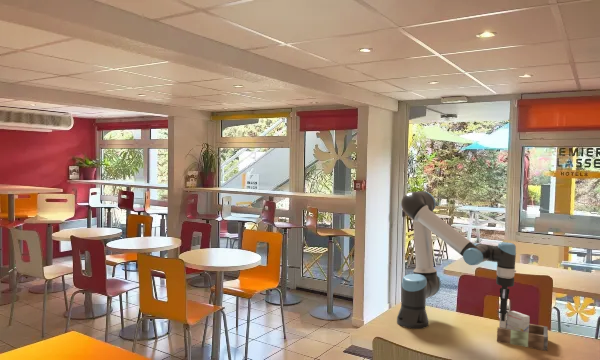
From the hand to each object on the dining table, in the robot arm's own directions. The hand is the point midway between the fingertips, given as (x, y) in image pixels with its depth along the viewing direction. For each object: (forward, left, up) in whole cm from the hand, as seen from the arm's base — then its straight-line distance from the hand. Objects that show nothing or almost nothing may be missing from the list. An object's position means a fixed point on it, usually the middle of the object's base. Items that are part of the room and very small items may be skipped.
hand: (502, 327), depth 213 cm
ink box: (+6, 0, -5) cm, 8 cm away
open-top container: (+8, 0, -5) cm, 9 cm away
